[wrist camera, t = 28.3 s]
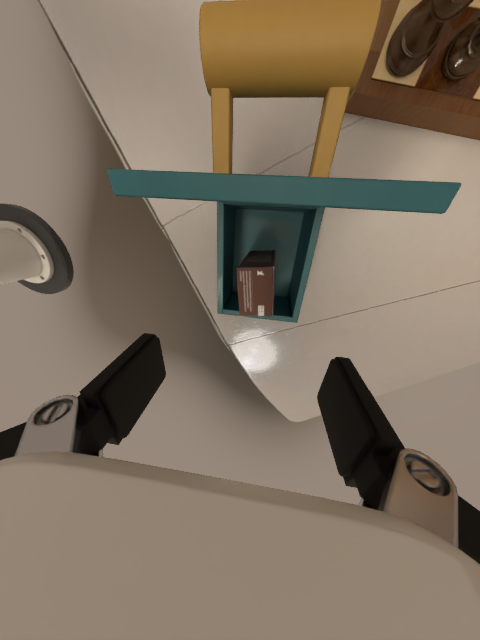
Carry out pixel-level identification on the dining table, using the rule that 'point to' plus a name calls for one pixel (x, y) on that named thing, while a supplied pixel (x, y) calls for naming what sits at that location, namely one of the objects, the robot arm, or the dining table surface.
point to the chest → (267, 234)
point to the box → (256, 283)
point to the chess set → (423, 67)
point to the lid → (285, 81)
